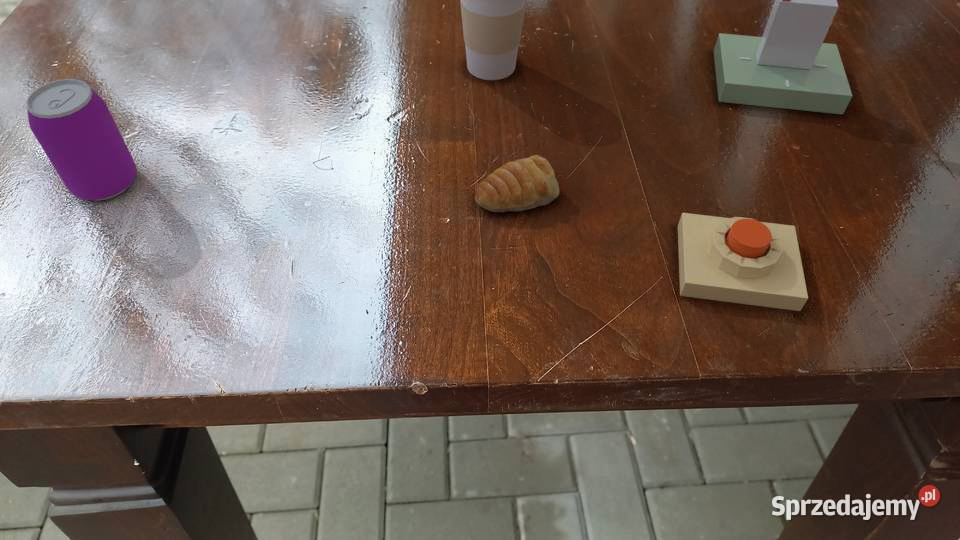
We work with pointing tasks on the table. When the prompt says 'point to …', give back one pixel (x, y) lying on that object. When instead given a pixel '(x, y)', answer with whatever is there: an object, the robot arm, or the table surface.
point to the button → (749, 238)
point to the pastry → (518, 186)
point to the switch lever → (795, 32)
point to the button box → (739, 265)
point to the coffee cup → (492, 36)
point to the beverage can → (80, 139)
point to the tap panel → (779, 78)
